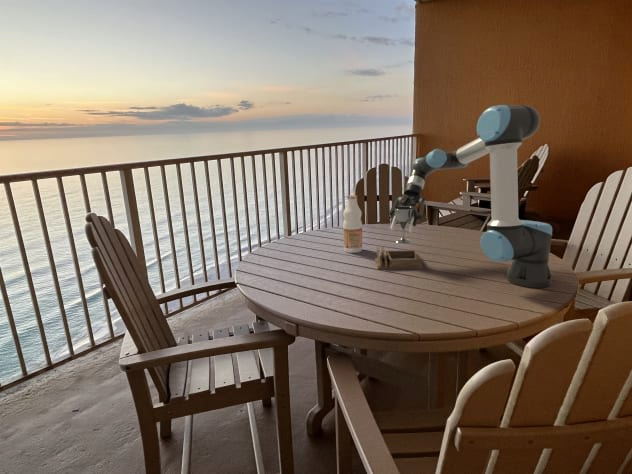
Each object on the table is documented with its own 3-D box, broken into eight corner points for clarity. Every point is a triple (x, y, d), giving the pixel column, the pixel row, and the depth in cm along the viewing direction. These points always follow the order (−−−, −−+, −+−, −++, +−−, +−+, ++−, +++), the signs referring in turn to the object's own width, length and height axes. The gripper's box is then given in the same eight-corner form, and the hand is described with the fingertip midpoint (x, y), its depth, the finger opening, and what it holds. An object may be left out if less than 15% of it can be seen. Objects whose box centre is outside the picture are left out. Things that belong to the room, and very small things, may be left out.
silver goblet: (411, 238, 171) (412, 205, 167) (413, 243, 164) (414, 209, 160) (393, 238, 172) (393, 206, 168) (395, 243, 164) (395, 209, 161)
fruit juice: (339, 250, 193) (338, 196, 186) (352, 246, 199) (351, 193, 192) (353, 254, 186) (353, 197, 179) (366, 250, 192) (365, 195, 185)
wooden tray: (422, 268, 163) (422, 255, 161) (378, 269, 164) (378, 256, 162) (415, 258, 176) (416, 246, 175) (374, 259, 178) (374, 247, 176)
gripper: (438, 194, 170) (425, 237, 161) (395, 192, 181) (381, 232, 172) (435, 184, 164) (422, 228, 155) (390, 182, 175) (376, 223, 166)
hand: (400, 230), depth 164 cm, fingers closed on silver goblet, 7 cm apart
